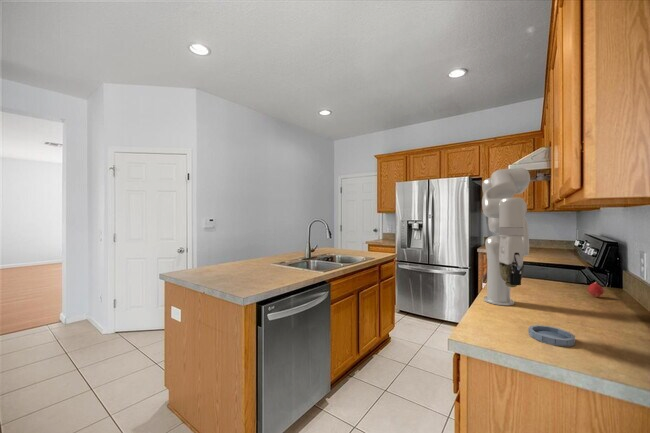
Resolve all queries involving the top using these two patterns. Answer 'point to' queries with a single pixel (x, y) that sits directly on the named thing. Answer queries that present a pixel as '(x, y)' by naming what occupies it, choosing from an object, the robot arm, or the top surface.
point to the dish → (552, 335)
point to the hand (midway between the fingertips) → (511, 282)
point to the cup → (508, 273)
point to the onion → (595, 289)
